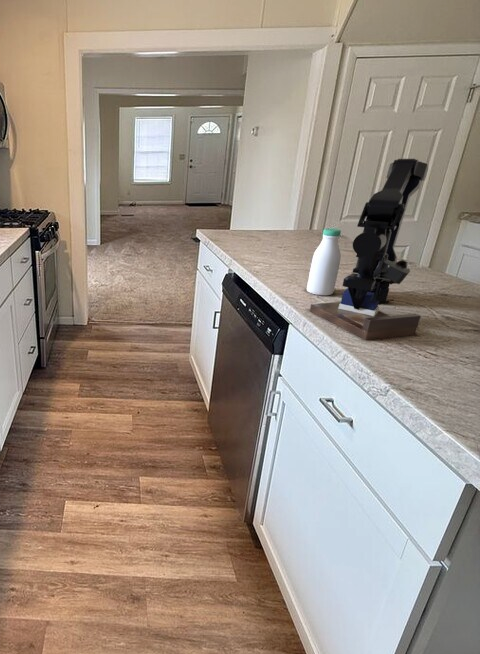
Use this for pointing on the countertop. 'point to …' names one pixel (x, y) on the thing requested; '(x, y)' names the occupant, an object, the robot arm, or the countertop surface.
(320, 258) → the milk bottle
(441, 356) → the countertop surface
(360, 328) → the brown wooden tray
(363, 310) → the navy white-based block
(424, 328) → the countertop surface
